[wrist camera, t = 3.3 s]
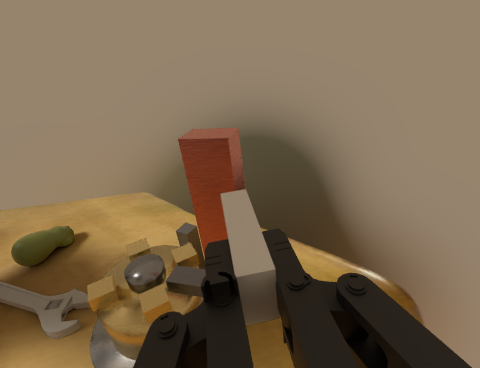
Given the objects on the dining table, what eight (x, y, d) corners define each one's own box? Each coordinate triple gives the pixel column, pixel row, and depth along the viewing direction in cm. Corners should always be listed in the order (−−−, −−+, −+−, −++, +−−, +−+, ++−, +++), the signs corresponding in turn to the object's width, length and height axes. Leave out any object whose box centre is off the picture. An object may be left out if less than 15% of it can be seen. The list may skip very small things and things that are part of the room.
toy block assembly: (89, 348, 31) (-24, 162, 21) (147, 271, 41) (92, 120, 31) (244, 390, 26) (201, 165, 15) (268, 290, 36) (252, 113, 25)
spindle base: (84, 311, 38) (56, 260, 33) (193, 255, 46) (181, 208, 41) (107, 436, 25) (65, 379, 20) (253, 327, 33) (245, 270, 28)
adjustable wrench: (-33, 294, 44) (-39, 286, 43) (10, 266, 49) (5, 259, 49) (63, 345, 34) (57, 336, 33) (104, 304, 39) (100, 296, 38)
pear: (0, 241, 46) (58, 217, 55) (10, 267, 48) (65, 240, 56) (18, 247, 44) (76, 221, 52) (28, 275, 45) (82, 245, 54)
